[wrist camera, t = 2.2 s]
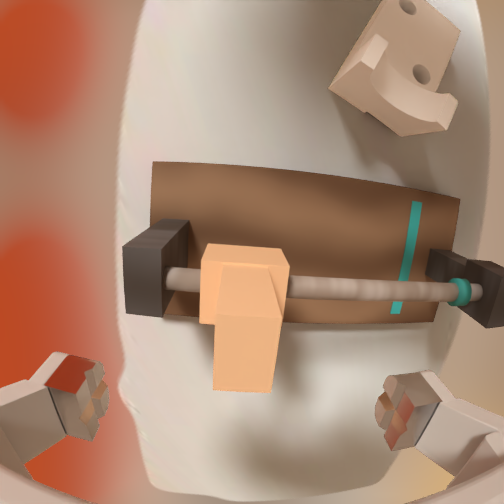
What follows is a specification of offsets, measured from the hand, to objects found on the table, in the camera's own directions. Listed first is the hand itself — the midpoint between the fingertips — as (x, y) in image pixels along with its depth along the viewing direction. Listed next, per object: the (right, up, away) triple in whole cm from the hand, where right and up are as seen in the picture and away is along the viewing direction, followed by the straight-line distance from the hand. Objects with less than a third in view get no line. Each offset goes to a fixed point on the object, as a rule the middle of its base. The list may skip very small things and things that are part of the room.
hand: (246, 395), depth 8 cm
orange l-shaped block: (0, +3, +10) cm, 10 cm away
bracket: (+12, +21, +13) cm, 28 cm away
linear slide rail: (+5, +4, +17) cm, 18 cm away
